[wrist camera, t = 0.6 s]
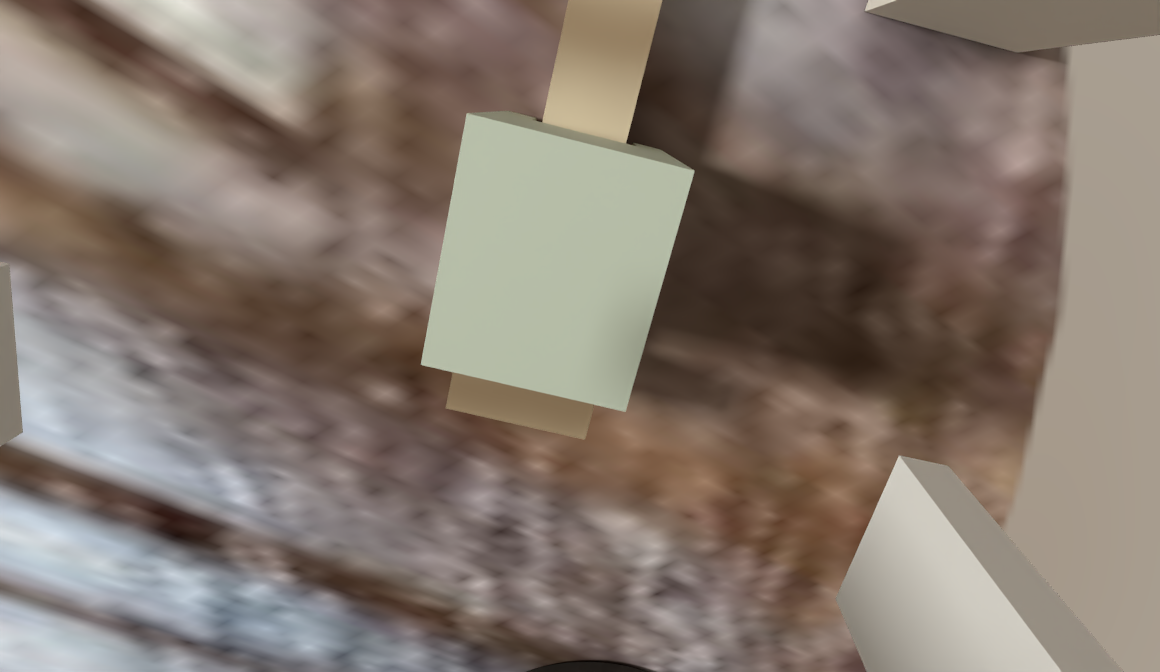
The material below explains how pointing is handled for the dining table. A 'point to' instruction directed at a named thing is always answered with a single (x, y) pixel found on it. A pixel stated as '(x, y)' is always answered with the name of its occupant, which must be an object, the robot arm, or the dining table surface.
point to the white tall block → (1028, 20)
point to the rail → (593, 106)
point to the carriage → (553, 258)
